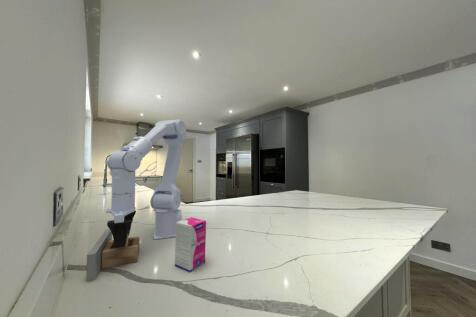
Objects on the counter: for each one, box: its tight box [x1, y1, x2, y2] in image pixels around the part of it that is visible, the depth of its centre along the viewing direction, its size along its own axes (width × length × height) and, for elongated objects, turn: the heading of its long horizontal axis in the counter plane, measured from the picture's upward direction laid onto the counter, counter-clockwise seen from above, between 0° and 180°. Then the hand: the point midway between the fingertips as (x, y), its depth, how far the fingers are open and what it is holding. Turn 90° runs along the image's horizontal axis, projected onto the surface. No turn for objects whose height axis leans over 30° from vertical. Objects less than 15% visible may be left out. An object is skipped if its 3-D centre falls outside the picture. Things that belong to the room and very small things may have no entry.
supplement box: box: [174, 217, 207, 273], centre depth 50 cm, size 6×6×12 cm
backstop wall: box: [85, 228, 113, 282], centre depth 51 cm, size 2×18×6 cm, turn 24°
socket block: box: [101, 236, 141, 269], centre depth 53 cm, size 8×8×4 cm
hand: (122, 241), depth 53 cm, fingers open, 7 cm apart
